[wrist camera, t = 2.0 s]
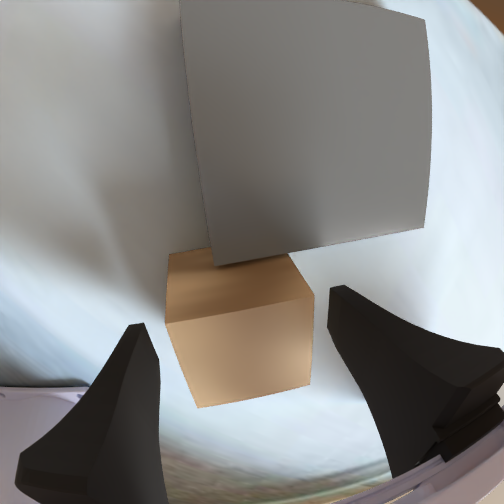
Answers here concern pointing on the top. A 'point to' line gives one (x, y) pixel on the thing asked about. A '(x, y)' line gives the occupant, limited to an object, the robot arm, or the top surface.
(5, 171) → the top surface
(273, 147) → the slate base
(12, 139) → the top surface
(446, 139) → the top surface
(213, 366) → the oak block
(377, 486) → the robot arm
